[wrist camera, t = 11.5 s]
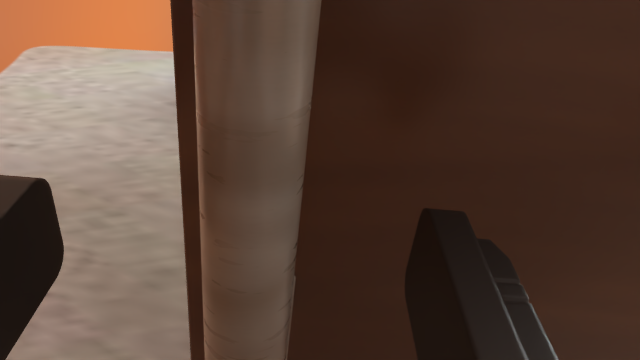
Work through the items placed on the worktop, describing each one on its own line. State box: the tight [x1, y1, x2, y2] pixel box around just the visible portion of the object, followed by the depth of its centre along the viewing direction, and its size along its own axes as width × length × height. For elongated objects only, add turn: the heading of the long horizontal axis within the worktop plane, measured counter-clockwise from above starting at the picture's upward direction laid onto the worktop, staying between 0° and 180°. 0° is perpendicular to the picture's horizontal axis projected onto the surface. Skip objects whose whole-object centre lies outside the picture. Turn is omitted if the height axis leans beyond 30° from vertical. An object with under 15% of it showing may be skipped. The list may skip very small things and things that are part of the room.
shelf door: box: [171, 0, 640, 360], centre depth 11 cm, size 6×16×20 cm, turn 88°
